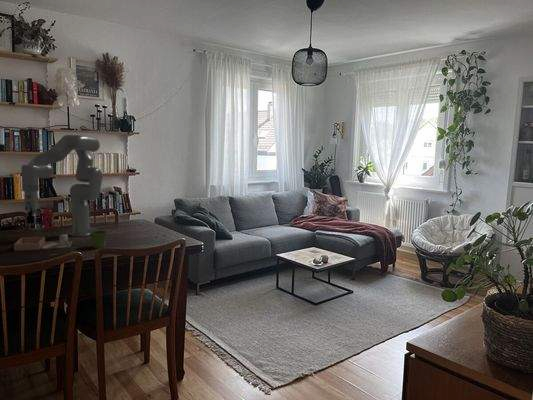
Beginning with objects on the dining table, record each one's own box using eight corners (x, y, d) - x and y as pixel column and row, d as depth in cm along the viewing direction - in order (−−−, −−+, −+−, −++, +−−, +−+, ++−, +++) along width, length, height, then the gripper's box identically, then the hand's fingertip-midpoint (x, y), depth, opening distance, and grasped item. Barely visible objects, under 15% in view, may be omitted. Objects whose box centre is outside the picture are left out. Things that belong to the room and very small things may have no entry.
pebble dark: (36, 223, 217) (36, 213, 216) (35, 224, 213) (34, 214, 212) (28, 223, 215) (27, 213, 215) (26, 225, 212) (26, 214, 211)
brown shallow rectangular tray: (45, 243, 226) (44, 236, 225) (39, 250, 211) (39, 243, 211) (21, 244, 222) (21, 237, 221) (14, 251, 207) (13, 244, 207)
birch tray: (72, 242, 229) (72, 240, 229) (69, 248, 217) (69, 246, 216) (45, 244, 225) (45, 242, 225) (40, 250, 212) (40, 247, 212)
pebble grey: (68, 244, 224) (68, 234, 224) (67, 245, 221) (67, 235, 220) (60, 244, 223) (60, 234, 222) (59, 246, 219) (59, 236, 219)
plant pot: (93, 245, 226) (92, 230, 224) (110, 245, 226) (110, 230, 225) (87, 249, 216) (86, 233, 215) (105, 249, 217) (104, 234, 216)
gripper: (35, 189, 205) (36, 225, 207) (41, 186, 221) (42, 219, 223) (18, 189, 203) (19, 225, 205) (25, 186, 218) (27, 220, 221)
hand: (31, 222), depth 214 cm, fingers closed on pebble dark, 4 cm apart
